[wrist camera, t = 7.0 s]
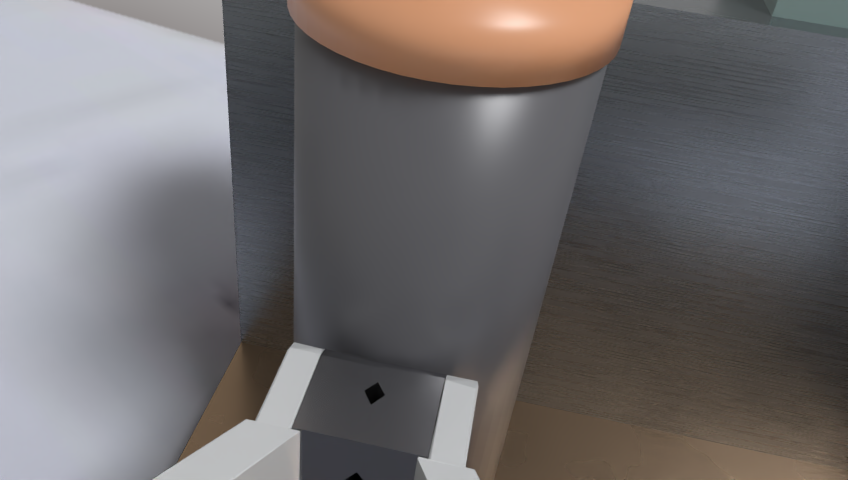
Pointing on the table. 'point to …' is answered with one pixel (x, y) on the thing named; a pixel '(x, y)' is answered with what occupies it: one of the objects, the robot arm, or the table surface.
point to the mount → (628, 253)
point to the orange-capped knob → (440, 179)
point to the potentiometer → (811, 11)
